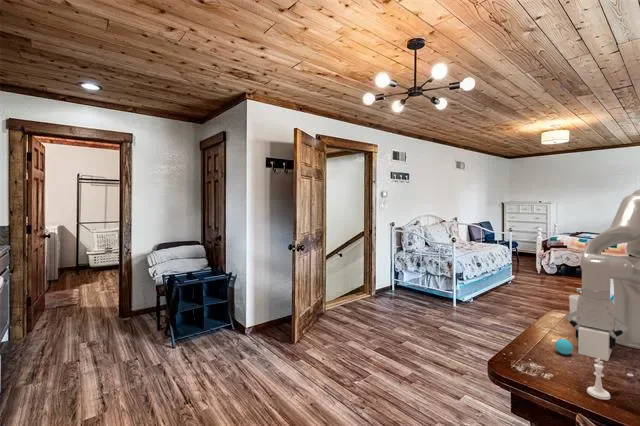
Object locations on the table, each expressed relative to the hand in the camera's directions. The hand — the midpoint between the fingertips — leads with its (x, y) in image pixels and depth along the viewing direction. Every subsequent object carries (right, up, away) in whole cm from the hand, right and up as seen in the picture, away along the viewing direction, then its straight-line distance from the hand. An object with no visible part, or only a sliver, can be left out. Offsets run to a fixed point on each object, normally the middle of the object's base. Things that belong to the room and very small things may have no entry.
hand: (595, 343), depth 114 cm
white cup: (+18, -2, +30) cm, 35 cm away
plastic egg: (-11, -1, 0) cm, 11 cm away
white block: (0, -3, 0) cm, 3 cm away
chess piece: (-19, -5, -24) cm, 31 cm away
